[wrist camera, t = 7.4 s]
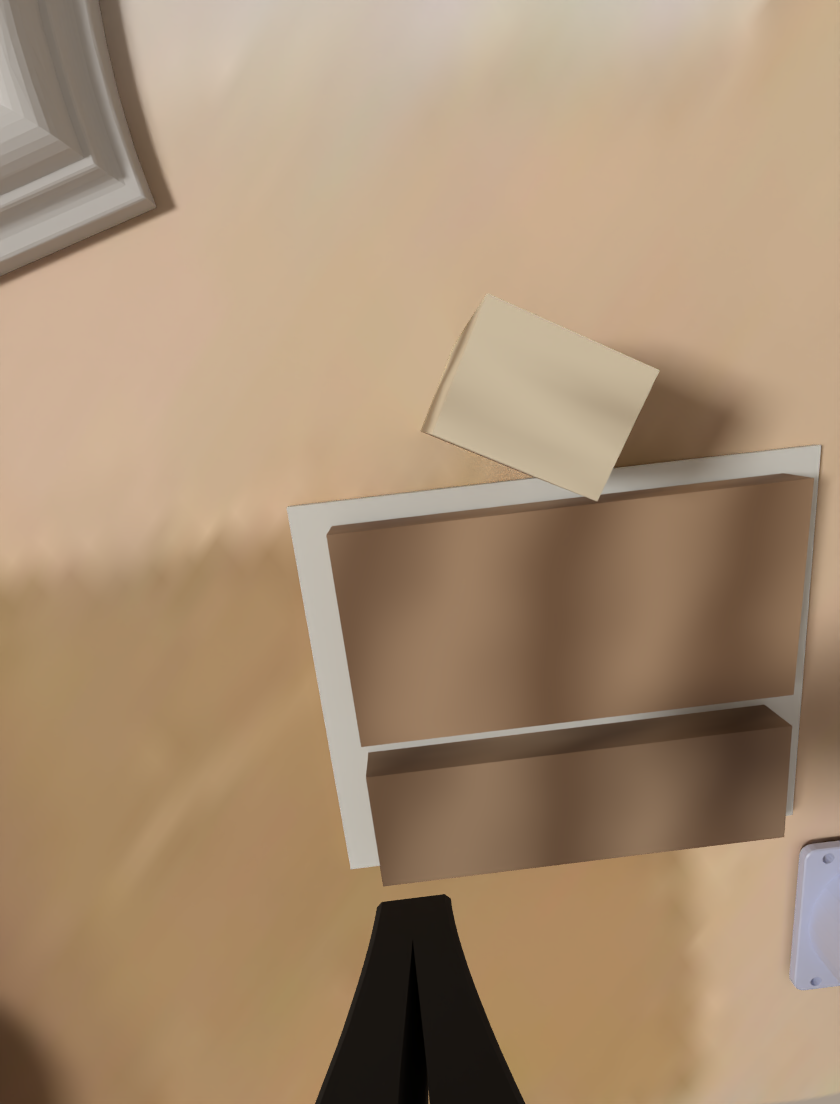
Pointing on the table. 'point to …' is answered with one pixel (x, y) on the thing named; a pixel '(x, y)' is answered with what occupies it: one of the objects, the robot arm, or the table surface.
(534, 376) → the block
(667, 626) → the board
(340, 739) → the underlay
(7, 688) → the table surface
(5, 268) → the molding
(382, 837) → the laid plank
